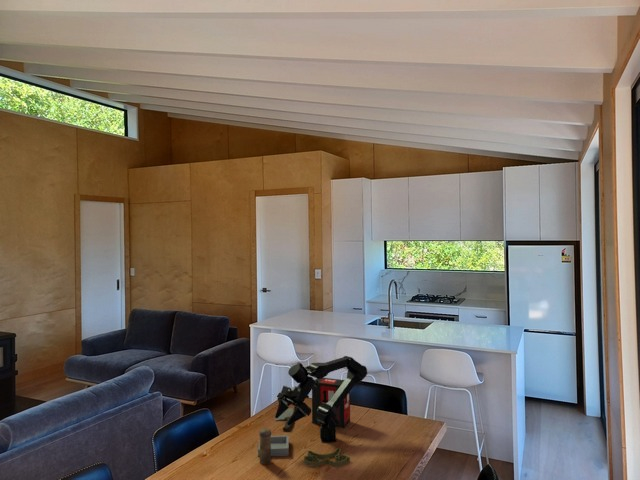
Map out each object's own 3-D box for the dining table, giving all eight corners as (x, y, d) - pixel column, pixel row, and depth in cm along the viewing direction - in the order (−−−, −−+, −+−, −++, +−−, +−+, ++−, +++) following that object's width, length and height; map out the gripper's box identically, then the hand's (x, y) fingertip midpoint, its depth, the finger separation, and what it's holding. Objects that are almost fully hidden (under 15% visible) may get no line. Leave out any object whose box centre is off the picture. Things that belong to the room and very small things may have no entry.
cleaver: (294, 431, 208) (294, 427, 208) (273, 432, 207) (273, 428, 207) (293, 409, 237) (293, 405, 237) (275, 410, 236) (275, 406, 236)
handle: (271, 459, 180) (271, 428, 181) (270, 464, 176) (270, 432, 176) (259, 459, 180) (259, 428, 180) (259, 465, 175) (259, 433, 176)
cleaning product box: (350, 421, 219) (349, 380, 219) (344, 428, 211) (343, 385, 211) (319, 416, 225) (318, 377, 225) (312, 423, 217) (311, 382, 217)
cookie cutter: (344, 452, 187) (344, 447, 187) (351, 465, 175) (351, 460, 175) (302, 455, 184) (302, 451, 184) (306, 470, 172) (306, 465, 172)
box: (288, 442, 196) (288, 435, 196) (288, 455, 183) (288, 448, 183) (260, 443, 195) (260, 436, 195) (258, 456, 182) (258, 449, 182)
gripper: (280, 373, 195) (258, 404, 188) (305, 383, 180) (282, 417, 173) (295, 388, 200) (274, 418, 193) (320, 399, 185) (298, 432, 178)
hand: (281, 421), depth 184 cm, fingers open, 9 cm apart
